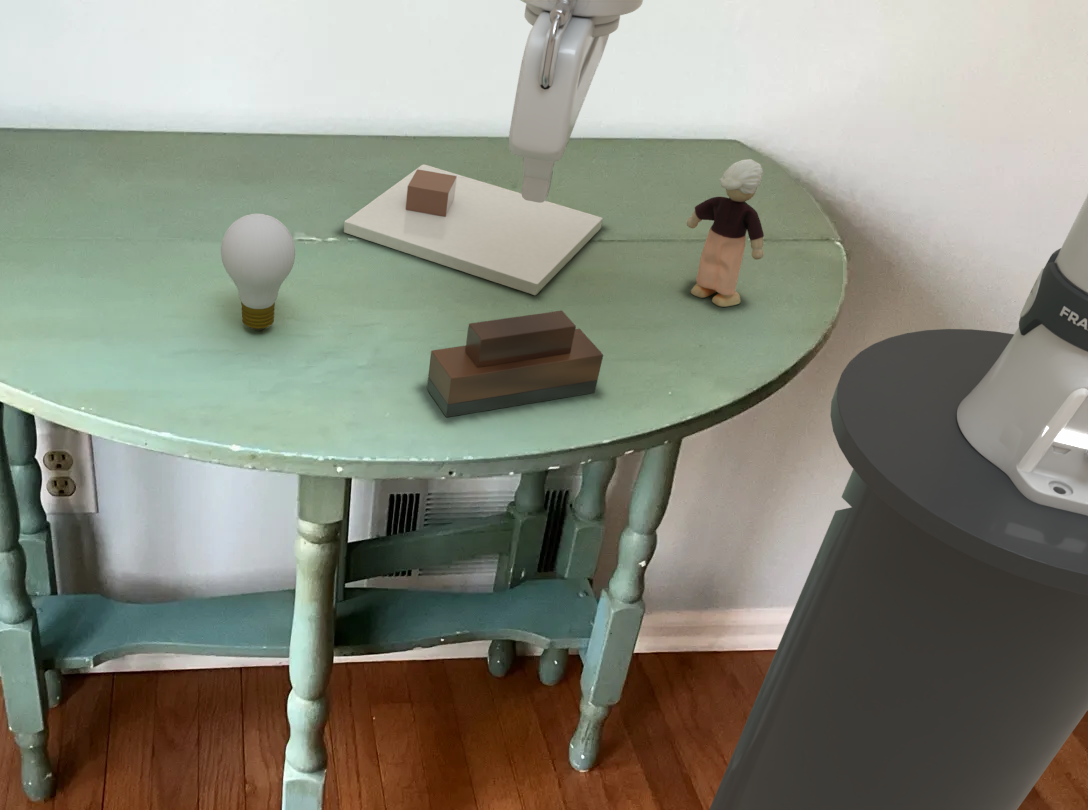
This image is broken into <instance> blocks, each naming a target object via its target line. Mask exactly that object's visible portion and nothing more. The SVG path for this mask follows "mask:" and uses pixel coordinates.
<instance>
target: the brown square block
mask: <svg viewBox="0 0 1088 810" xmlns="http://www.w3.org/2000/svg"><path fill="white" fill-rule="evenodd" d="M416 169H417V168H416ZM416 169H415V170H416ZM456 179H457V176H454V175H448V174H442V173H436V172H430V171H425V170H419V169H417V170H416V172H415V174H414V176H413V177H412V179H411V181H410V183H409V185H408V188H407V199H406V210H410V211H415V212H421V213H426V214H432V215H438V216H443V217H446V215H447V213H448V211H449V209H450V207H451V205H452V203H453V201H454V196H455V188H456Z"/></svg>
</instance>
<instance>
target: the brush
mask: <svg viewBox="0 0 1088 810" xmlns="http://www.w3.org/2000/svg"><path fill="white" fill-rule="evenodd" d="M576 327H577V325H576V324H575V323H574V322H573V321H572V319H571V318H570V317H569V316H568V315H567V314H566V313H565V312H564V311H563V310H555V311H548V312H541V313H533V314H527V315H519V316H512V317H505V318H497V319H491V320H484V321H477V322H471V323H468V327H467V334H466V341H465V342H466V343H465V345H460V346H459V345H458V346H452V347H445V348H439V349H433V350H430V359H429V366H428V376H427V385H426V390H427V392H428V393H429V394H430V396H431V397H432V399H433V401H435V403H436V404H437V406H438V407H439V409H440V411H442V414H443V415H444V416H445V417H446V418H449V417H450V418H451V417H457V416H463V415H469V414H474V413H475V414H476V413H480V412H486V411H487V412H488V411H493V410H497V409H504V408H505V409H506V408H510V407H511V408H512V407H515V406H517V407H518V406H524V405H529V404H535V403H541V402H547V401H552V400H558V399H564V398H570V397H571V398H572V397H576V396H582V395H588V394H595V392H596V388H597V384H598V380H599V376H600V372H601V368H602V363H603V359H604V353H602V351H601V350H600V349H599V348H598V347H597V346H596V345H595V344H594V342H593V341H592V340H591V339H590V338H589V337H588V336H587V335H586V333H584V332H583V330H582V329H581V328H576Z"/></svg>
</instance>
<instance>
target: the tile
mask: <svg viewBox="0 0 1088 810" xmlns="http://www.w3.org/2000/svg"><path fill="white" fill-rule="evenodd" d="M417 169H419V170H425V171H430V172H436V173H442V174H448V175H454V176H457V179H456V188H455V196H454V201H453V203H452V205H451V207H450V209H449V211H448V213H447V215H446V217H443V216H438V215H432V214H426V213H421V212H415V211H410V210H406V199H407V188H408V185H409V183H410V181H411V179H412V177H413V176H414V174H415V172H416V170H417ZM603 219H604V218H603V217H601V216H598V215H594V214H591V213H588V212H584V211H582V210H578V209H574V208H571V207H568V206H564V205H562V204H559V203H555V202H551V201H549V200H545V201H544V202H541V203H539V202H533V201H528V200H525V199H524V198H523V197H522V195H521V192H518V191H514V190H511V189H508V188H504V187H501V186H498V185H494V184H492V183H489V182H484V181H481V180H478V179H475V178H471V177H468V176H464V175H461V174H458V173H454V172H451V171H449V170H448V171H447V170H444V169H442V168H438V167H434V166H431V165H428V164H426V163H423V164H421V165H420V166H418V167H417V168H416V169H414V170H412V172H410V173H409V174H407V175H406V176H405V177H403V178H402V179H400V180H399V181H398V182H396V183H395V184H393V185H392V186H391V187H389V188H388V189H387V190H385V191H383V193H381V194H379V196H377V197H376V198H374V199H373V200H372V201H370V202H369V203H367V204H366V205H364V206H363V207H362V208H360V209H359V210H357V212H355V213H353V214H352V215H350V216H349V217H348V218H347V219H345V220H344V223H343V233H344V234H348V235H351V236H353V237H357V238H360V239H362V240H365V241H369V242H372V243H374V244H378V245H381V246H384V247H386V248H390V249H393V250H396V251H399V252H402V253H405V254H408V255H411V256H414V257H417V258H420V259H422V260H423V259H424V260H427V261H429V262H432V263H435V264H438V265H442V266H444V267H448V268H450V269H454V270H457V271H460V272H463V273H466V274H469V275H472V276H475V277H478V278H481V279H483V280H487V281H490V282H493V283H496V284H499V285H502V286H505V287H508V288H511V289H514V290H518V291H520V292H523V293H527V294H529V295H531V296H537V295H538V294H539V293H540V291H542V290H543V289H544V287H546V285H547V284H548V283H549V282H551V280H552V279H553V278H554V277H555V276H556V275H558V273H559V272H560V271H561V270H562V269H564V267H565V266H566V265H567V264H568V263H569V262H570V261H571V260H572V259H573V258H574V257H575V256H576V255H577V254H578V253H579V252H580V251H581V250H582V249H583V247H585V245H586V244H587V243H588V242H589V241H590V240H591V239H592V238H593V237H594V236H595V235H596V234H597V233H599V231H600V230H601V229H602V225H603V221H604V220H603Z"/></svg>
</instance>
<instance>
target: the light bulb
mask: <svg viewBox="0 0 1088 810" xmlns="http://www.w3.org/2000/svg"><path fill="white" fill-rule="evenodd" d="M220 256H221V257H220V258H221V263H222V266H223V268H224V270H225V272H226V274H227V275H228V276H229V278H230V279H231V280H232V283H234V285H235V287H236V289H237V292H238V297H239V300H240V305H241V321H242V323H243V325H245V326H246V327H248V328H250V329H251V330H253V331H255V332H261V331H263V330H264V329H266V328H268V327H269V328H270V327H271V326H272V325H273V324H274V321H275V320H274V319H275V310H276V307H275V306H276V301H277V298H278V295H279V290H280V288H281V286H282V284H283V283H284V281H285V280H286V279H287V278H288V276H289V275H290V274H291V272H292V270H293V267H294V264H295V259H296V246H295V242H294V238H293V236H292V234H291V232H290V231H289V229H288V228H287V227H286V225H285V224H284V223H282V222H281V221H280V220H278V219H277V218H276V217H274V216H271V215H268V214H265V213H251V214H246V215H244V216H241V217H239V218H237V219H236V220H234V221H233V223H232V224H231V225H230V226H229V227H228V228H227V230H226V231H225V232H224V235H223V238H222V240H221V245H220Z"/></svg>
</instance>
